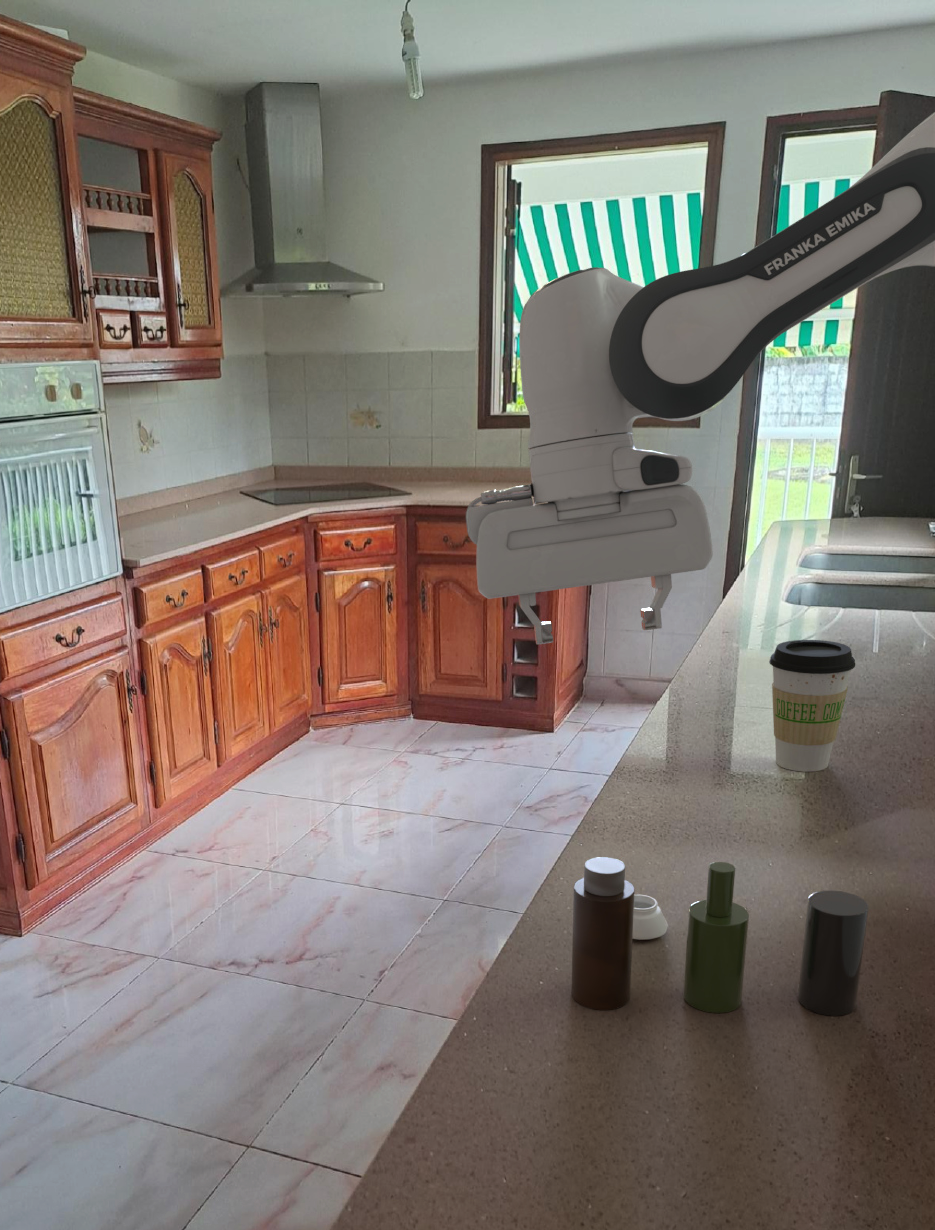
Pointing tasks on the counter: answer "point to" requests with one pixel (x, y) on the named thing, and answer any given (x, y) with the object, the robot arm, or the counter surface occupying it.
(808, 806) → the counter surface
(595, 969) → the pepper mill
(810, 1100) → the counter surface
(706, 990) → the oil cruet
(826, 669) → the coffee cup
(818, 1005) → the dark grey cylinder
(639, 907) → the white jar
